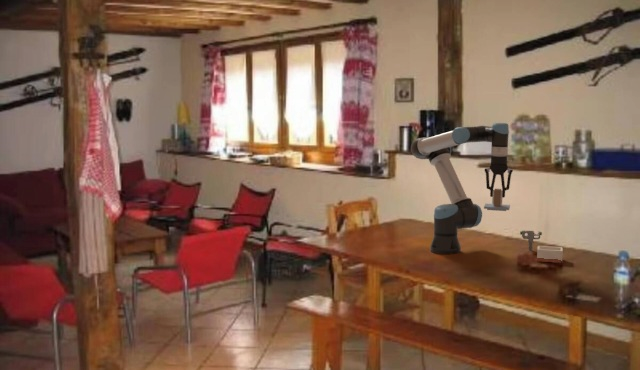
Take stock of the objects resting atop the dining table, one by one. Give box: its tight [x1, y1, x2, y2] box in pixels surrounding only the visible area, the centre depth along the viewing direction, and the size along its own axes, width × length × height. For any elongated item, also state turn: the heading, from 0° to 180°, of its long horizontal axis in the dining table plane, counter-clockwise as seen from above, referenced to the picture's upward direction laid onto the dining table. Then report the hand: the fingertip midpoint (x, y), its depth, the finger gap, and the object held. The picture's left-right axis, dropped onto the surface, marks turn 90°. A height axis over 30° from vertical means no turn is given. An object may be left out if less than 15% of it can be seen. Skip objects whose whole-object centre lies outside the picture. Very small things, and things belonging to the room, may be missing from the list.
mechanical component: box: [519, 230, 543, 252], centre depth 323 cm, size 3×10×10 cm, turn 78°
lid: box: [483, 188, 511, 212], centre depth 309 cm, size 12×9×10 cm
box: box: [536, 245, 564, 262], centre depth 302 cm, size 11×8×6 cm
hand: (497, 203), depth 310 cm, fingers closed on lid, 3 cm apart
